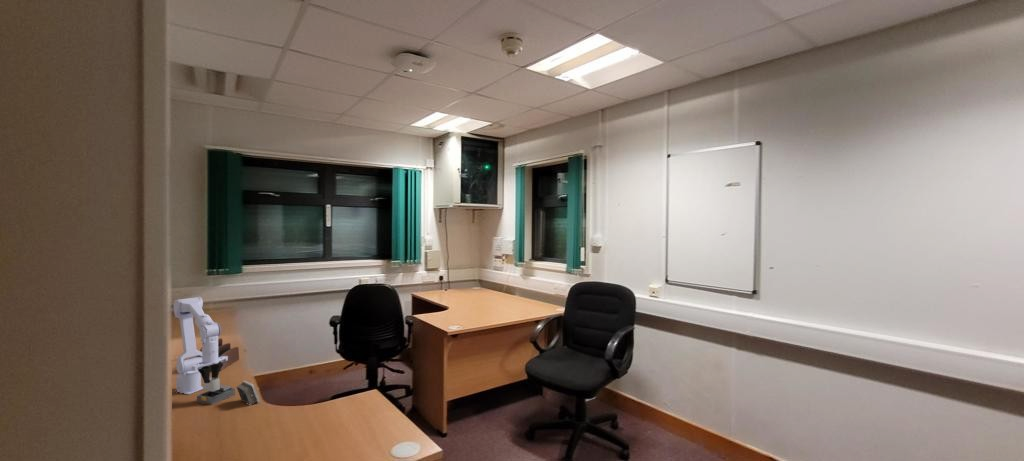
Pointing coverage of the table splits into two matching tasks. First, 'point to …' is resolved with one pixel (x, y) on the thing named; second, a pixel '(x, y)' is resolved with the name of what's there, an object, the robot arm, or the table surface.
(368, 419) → the table surface
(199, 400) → the rack
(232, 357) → the letter holder
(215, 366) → the robot arm
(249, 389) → the electrical switch
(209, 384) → the grey block
